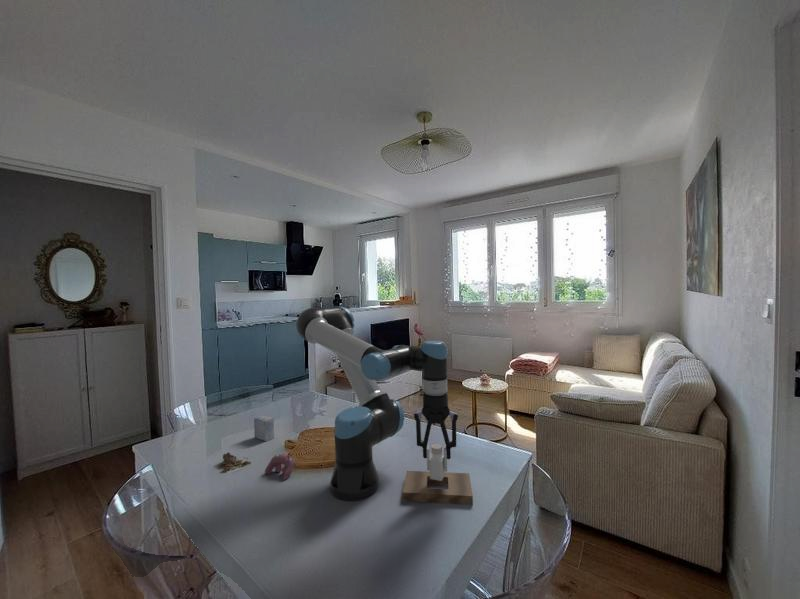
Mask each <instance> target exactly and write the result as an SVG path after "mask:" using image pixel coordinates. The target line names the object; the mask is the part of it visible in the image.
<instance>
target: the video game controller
mask: <svg viewBox="0 0 800 599" xmlns="http://www.w3.org/2000/svg"><path fill="white" fill-rule="evenodd" d="M296 464H297V461H296V459H295V458H294V457H292V456H290V455H288V454H277V455H276V454H275V455H274V456H273V457H271V459H270V461H269V463H268V464H267V466H266V467H265V469H264V475H269V474H270V473H271V472H272V471H273V470H274V471H275V472H276V473H280V472H282V474H283V476H282V477H283V480H287V479H289V478H290V477H291V475H292V473H293V470H294V469H295V468H296V466H297V465H296Z"/></svg>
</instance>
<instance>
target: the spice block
mask: <svg viewBox="0 0 800 599" xmlns="http://www.w3.org/2000/svg"><path fill="white" fill-rule="evenodd" d="M428 485H438V486H440V485H441V486H442V485H443V486H447V488H433V487H431V488H429V487H428ZM472 489H473V488H472V483H471V475H470V473H469V472H467V473H465V472H448V471H445V475H444V477H443V479H442V481H438V480H433V479H430V471H427V470H425V471H424V470H423V471H421V470H406V474H405V480H404V483H403V488H402V502H415V503H431V504H432V503H433V504H452V505H467V506H468V505H469V506H470V505H471V506H474V499H473V498H474V496H473V490H472Z"/></svg>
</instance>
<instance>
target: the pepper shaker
mask: <svg viewBox="0 0 800 599" xmlns="http://www.w3.org/2000/svg"><path fill="white" fill-rule="evenodd" d="M442 447H443V446H442V444H439V443H435V444H432V445H431V454H430V459H429V464H430V471H429V472H430V479H433V480H438V481H442V479H443V477H444V475H445V472H446V471H445V468H444V454H443V448H442Z"/></svg>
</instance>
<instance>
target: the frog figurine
mask: <svg viewBox="0 0 800 599" xmlns="http://www.w3.org/2000/svg"><path fill="white" fill-rule="evenodd" d="M222 459H223V460H222V462H220V463H219V465H218V467H219V466H220V467H219V468H221V469H223V472H225V471H226V473H227V472H228V474H229V473H231V472H232V473H235V472H239V471H241V470H242V469H243V468H246V466H247V467H248V466H250V465H252V464H251V463H252V460H251V459H249V457H242V459H249V460H242V459H239V460H238V458H237V456H235V455H234V454H231V452H227V453H223V454H222ZM224 465H225V466H224ZM222 466H223V467H224V468H223V467H222ZM232 469H233V470H232Z"/></svg>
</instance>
